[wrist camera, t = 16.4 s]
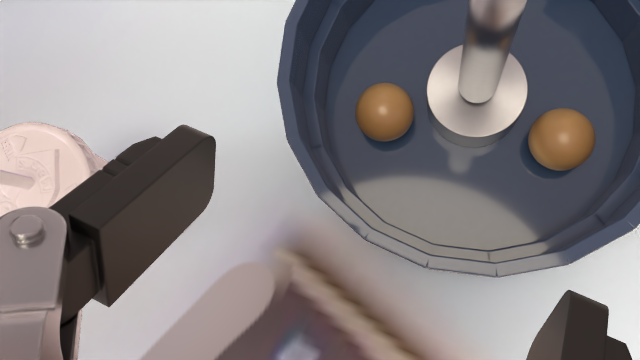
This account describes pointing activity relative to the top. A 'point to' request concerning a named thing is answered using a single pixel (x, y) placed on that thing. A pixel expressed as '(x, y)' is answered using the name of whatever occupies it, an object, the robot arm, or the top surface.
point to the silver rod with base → (480, 78)
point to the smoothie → (41, 165)
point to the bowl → (458, 161)
